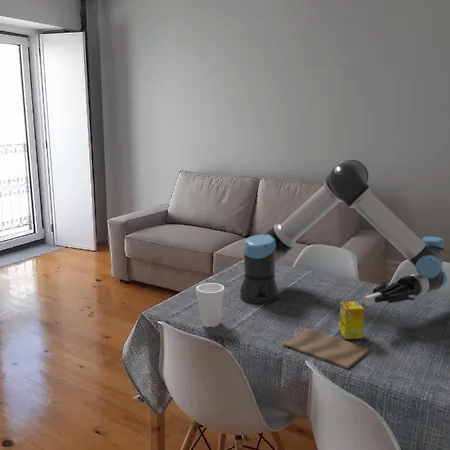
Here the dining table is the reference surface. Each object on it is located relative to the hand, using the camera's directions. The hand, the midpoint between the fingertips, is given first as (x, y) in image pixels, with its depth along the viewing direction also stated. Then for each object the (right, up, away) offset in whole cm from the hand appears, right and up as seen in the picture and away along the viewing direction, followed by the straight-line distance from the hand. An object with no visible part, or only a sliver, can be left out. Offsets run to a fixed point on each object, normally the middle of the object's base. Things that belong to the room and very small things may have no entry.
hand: (366, 301), depth 163 cm
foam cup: (-50, -9, +10) cm, 52 cm away
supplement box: (-5, -12, 0) cm, 13 cm away
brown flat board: (-15, -13, -8) cm, 21 cm away
